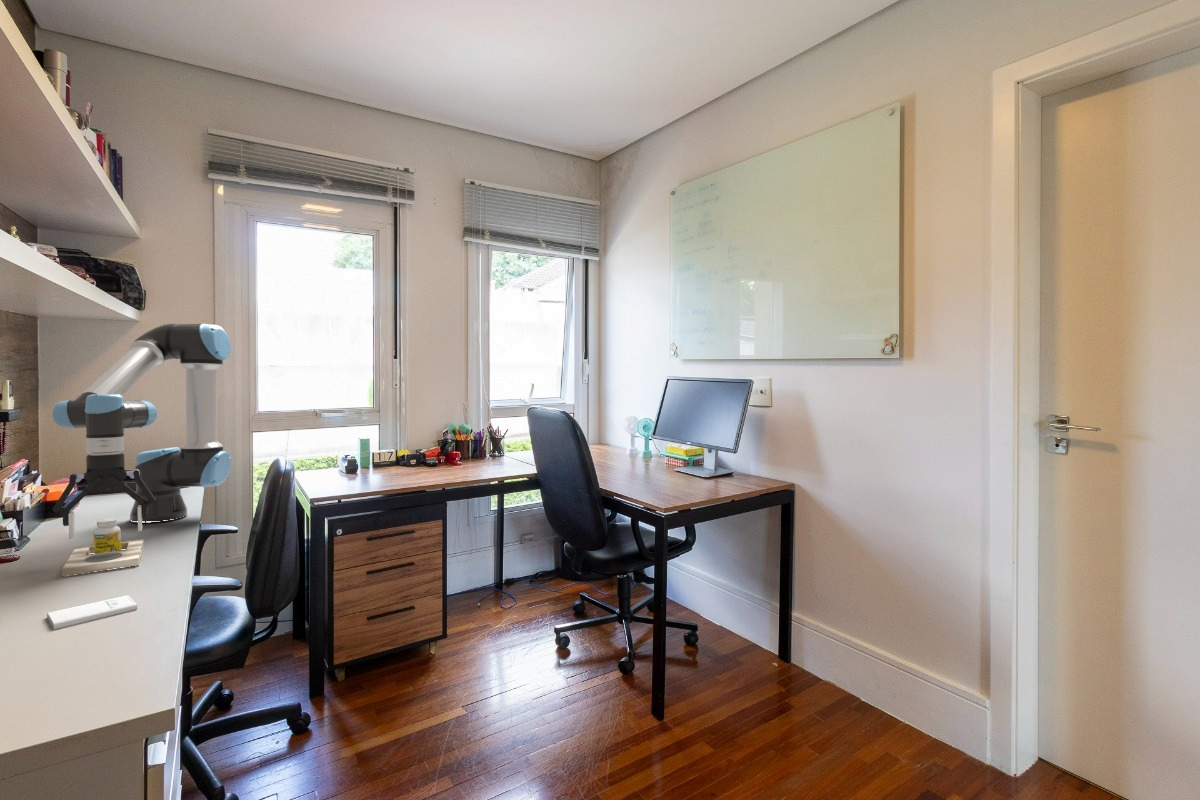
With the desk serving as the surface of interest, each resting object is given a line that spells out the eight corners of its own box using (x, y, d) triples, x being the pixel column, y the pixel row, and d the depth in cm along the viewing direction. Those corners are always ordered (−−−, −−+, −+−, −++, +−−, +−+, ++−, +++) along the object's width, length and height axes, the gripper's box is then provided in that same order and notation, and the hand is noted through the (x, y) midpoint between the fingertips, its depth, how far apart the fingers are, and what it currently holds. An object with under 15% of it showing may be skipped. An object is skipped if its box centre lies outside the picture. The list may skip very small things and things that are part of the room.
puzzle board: (75, 555, 151) (75, 546, 151) (143, 546, 159) (143, 538, 159) (62, 577, 135) (62, 567, 134) (138, 566, 143) (138, 556, 143)
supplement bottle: (124, 552, 154) (123, 516, 154) (117, 557, 149) (116, 521, 149) (98, 554, 152) (97, 518, 151) (91, 560, 147) (90, 523, 146)
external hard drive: (47, 620, 112) (127, 601, 122) (53, 632, 107) (137, 611, 117) (46, 612, 112) (127, 593, 122) (53, 623, 107) (137, 603, 116)
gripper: (36, 458, 139) (37, 544, 140) (165, 451, 154) (166, 530, 154) (42, 454, 145) (44, 538, 146) (165, 449, 160) (166, 524, 160)
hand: (106, 534), depth 150 cm, fingers open, 13 cm apart
